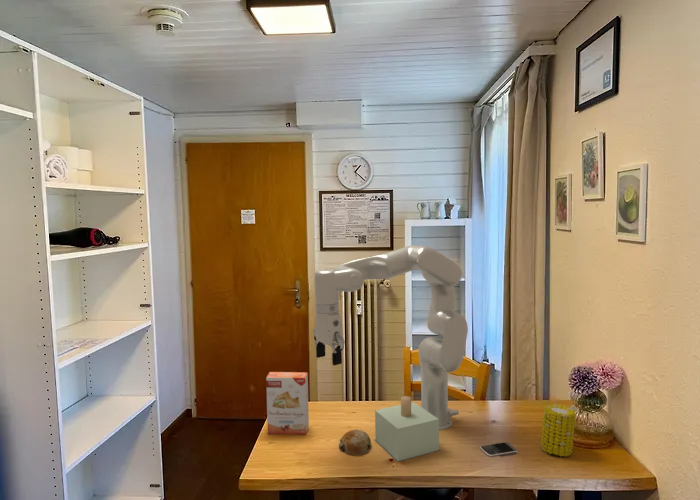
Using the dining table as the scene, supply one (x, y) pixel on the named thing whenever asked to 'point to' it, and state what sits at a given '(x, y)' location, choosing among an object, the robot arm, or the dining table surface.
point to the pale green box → (406, 430)
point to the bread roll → (355, 442)
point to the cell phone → (498, 449)
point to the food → (558, 430)
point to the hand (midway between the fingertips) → (328, 360)
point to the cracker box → (287, 402)
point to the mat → (404, 459)
